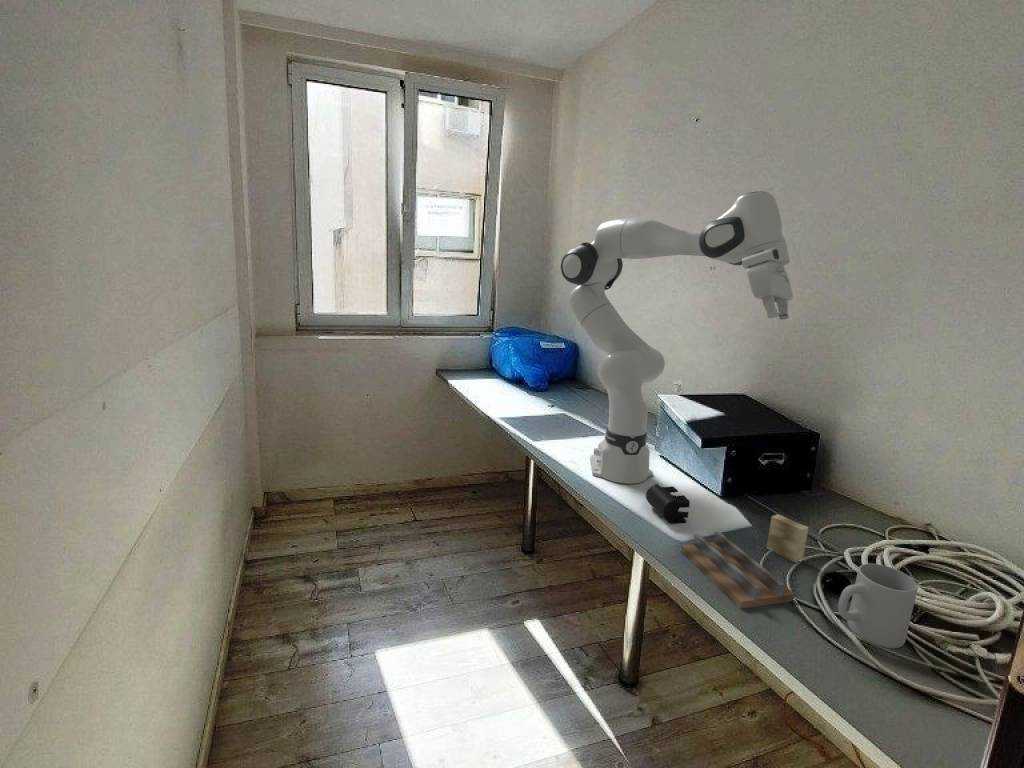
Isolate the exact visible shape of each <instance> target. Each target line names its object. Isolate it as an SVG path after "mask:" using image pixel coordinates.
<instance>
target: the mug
mask: <svg viewBox="0 0 1024 768" xmlns="http://www.w3.org/2000/svg"><path fill="white" fill-rule="evenodd" d="M918 588H919V587H918V584H917V582H916V581H915V579H913V577H911V576H909V575H908V574H906V573H905V572H902V571H901V570H898V569H896V568H893V567H890V566H887V565H883V564H878V563H864V564H861V565H860V566H859V567H858V570H857V575H856V578H855V583H854V584H849V585H847V586H846V587H844V588H843V590H842V592H841V594H840V597H839V600H838V613H839V615H840V617H841V618H842V619H843V620H845V621H847V625H848V628H849V629H850V631H852V632H853V633H854V634H855V635H856V636H858V637H859V638H861V639H862V640H864V641H866V642H868V643H870V644H872V643H873V645H874V644H875V646H877V645H878V647H881V648H885V649H898V648H901V647H903V646H905V645H904V644H906V640H907V637H908V631H909V626H910V622H911V618H912V614H913V610H914V606H915V602H916V598H917V593H918ZM850 598H851V602H850V607H849V610H847V609H848V603H849V601H850Z"/></svg>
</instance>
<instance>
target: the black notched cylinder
mask: <svg viewBox="0 0 1024 768" xmlns="http://www.w3.org/2000/svg"><path fill="white" fill-rule="evenodd" d="M678 491H679V490H678V489H677V488H676V487H675V486H661V485H660V483H654V484H652V485H651V486H650V487H649V488H648V489H647V490H646V494H645V498H646V501H647V503H648V504H649V505H650V506H651V507H652V508H653V509H654V510H655V511H656V512H657V513H658V514H659V515H660V516H661V517H662V518H663V519H664V520H665V521H666V522H667V523H668V524H671V525H677V524H678V525H679V524H687V523H688V522H687V519H688V517H689V513H690V512H689V511H682V510H681V511H679V510H680V509H685V508H687V509H688V508H690V500H689V498H687V497H686V496H685V495H675V494H672V493H678Z"/></svg>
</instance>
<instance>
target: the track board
mask: <svg viewBox="0 0 1024 768" xmlns="http://www.w3.org/2000/svg"><path fill="white" fill-rule="evenodd" d="M692 541H693V542H692V544H681V550H680V552H681V553H682V554H683V555H684V556H685V557H686V558H687V559H688V560H689V561H691V563H692V564H693V565H694V566H695V567H696V568H697V569H698V570H699V571H701V572H702V574H703V575H705V576H706V578H708V580H710V581H711V582H712V583H713V584H714V585H715V586H716V587H717V588H718V589H719V590H720V591H721V592H722V593H723V594H725V596H726V598H728V599H729V600H731V602H732V603H734V605H736V607H737V608H739V609H741V610H742V609H748V608H755V607H762V606H763V607H764V606H769V605H775V604H782V603H783V604H784V603H788V602H789V603H790V602H793V601H792V600H793V599H794V600H795V596H796V594H795V592H793V591H792V590H790V589H789V588H788V587H787V586H786V585H785V583H784V582H782V581H781V580H780V579H779V578H778V577H776V576H775V575H774V574H773V573H772V572H770V571H769V570H768V569H766V568H765V567H764V566H763V565H761V564H760V563H759V562H758V561H756V560H755V559H754V558H753V557H752V556H751V555H749V554H748V553H746V552H745V551H744V550H743V549H742V548H740V547H739V546H738V545H737V544H735V543H734V542H732V540H730V539H729V538H728V537H726V536H725V535H724V534H723V533H722V532H720V531H715V532H714V538H713V541H711V542H710V541H709V542H708V541H707V540H706V539H705V538H704V537H702V536H701V535H700V533H694V535H693V540H692Z"/></svg>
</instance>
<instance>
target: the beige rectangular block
mask: <svg viewBox="0 0 1024 768" xmlns="http://www.w3.org/2000/svg"><path fill="white" fill-rule="evenodd" d="M770 519H771V520H770V523H769V530H768V535H767V536H768V537H767V542H766V549H767V550H769V551H771V550H773V551H775V552H776V553H775V552H774V553H775V554H777V555H779V556H781V557H783V558H785V559H787V560H789V561H791V562H793V563H795V562H797V561H798V560H800V559H802V558H803V559H804V555H805V549H806V544H807V538H808V534H809V527H808V526H806V525H804V524H803V523H802V524H801V523H800V522H797V521H795V520H792V519H790V518H789V517H788V518H787V517H785V516H784V515H780V514H778V513H777V514H774V515H771V518H770ZM773 551H772V552H773Z"/></svg>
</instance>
